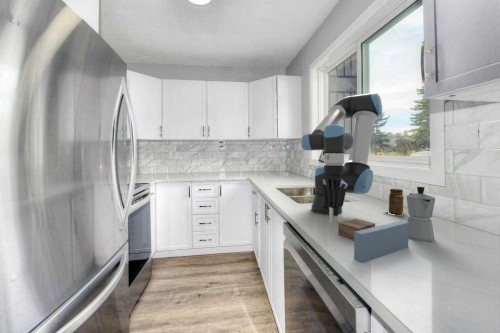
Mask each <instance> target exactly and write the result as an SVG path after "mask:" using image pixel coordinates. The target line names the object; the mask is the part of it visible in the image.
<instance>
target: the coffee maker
mask: <svg viewBox="0 0 500 333" xmlns="http://www.w3.org/2000/svg"><path fill="white" fill-rule="evenodd" d="M416 190H417V193H411V192H410V193H409V194H407V195H406V202H407V203H406V204H407V212H408V213H407V214H408V215H409V217H407V222H409V236H408V239H410V240H413V241H418V242H428V243H429V242H430V243H431V242H433V241H435V235H434V233H435V232H434V228H433V221H432V219H431V218H432V217H433V212H434V207H435V202H436V201H435V200H436V198H435V196H432V195H430V194H429V195H428V194H426V193H424V192H425V186H416Z"/></svg>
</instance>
